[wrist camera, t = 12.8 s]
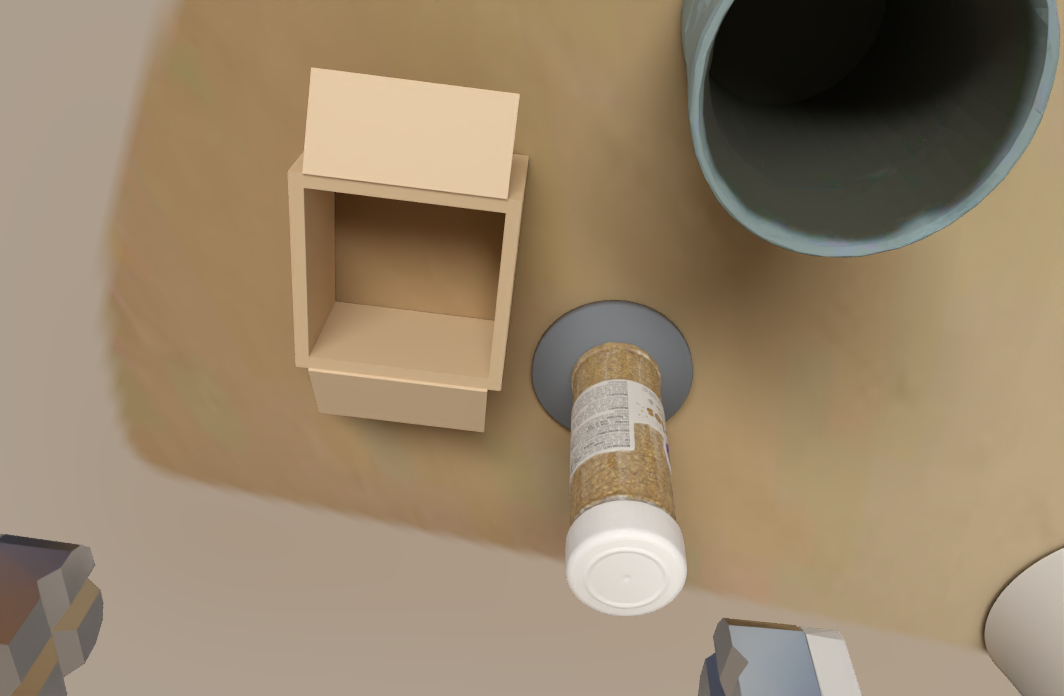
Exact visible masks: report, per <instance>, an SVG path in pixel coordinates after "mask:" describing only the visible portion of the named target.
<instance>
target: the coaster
mask: <svg viewBox="0 0 1064 696" xmlns="http://www.w3.org/2000/svg"><path fill="white" fill-rule="evenodd" d="M608 342H620V343H628V344H632V345H635V346H637V347H639V348H640V349H643V350H645V351H646V352H647V353H648V354H649V355H650V356H651V357H652V358H653V359H654V360H655V361H656V363H657V365H658V367H659V370H660V373H661V390H660V392H661V399H662V406H663V409H664V415H665V422H666V421H667V420H668V419H669V418H671V417H672V416H673V415H674V414H675V413H676V412H677V411H678V409H679V408H680V407H681V405H682V404H683V403H684V401H685V399H686V397H687V395H688V393H689V390H690V387H691V383H692V378H693V366H692V359H691V354H690V350H689V347H688V344H687V342H686V340H685V338H684V336H683V334H682V333H681V332H680V330H679V329H678V328H677V327H676V326H675V324H674V323H673V322H672V321H670V320H669V319H668V318H667V317H666V316H664V315H663V314H661V313H659V312H658V311H656V310H654V309H652V308H650V307H647V306H645V305H641V304H638V303H634V302H629V301H620V300H607V301H598V302H593V303H589V304H585V305H582V306H580V307H577V308H575V309H573V310H571V311H569V312H567V313H566V314H564V315H562V316H561V317H560V318H558V319H557V320H556V321H555V322H554V323H553V324H552V325H551V326H550V327H549V328H548V329H547V330H546V331H545V333H544V334H543V336H542V337H541V339H540V341H539V343H538V345H537V348H536V350H535V354H534V359H533V371H532V377H533V385H534V389H535V392H536V395H537V397H538V399H539V401H540V403H541V404H542V406H543V407H544V409H545V410H546V411H547V412H548V413H549V414H550V415H551V416H552V417H553V418H554V419H555V420H556V421H558V422H559V423H560V424H562V425H563V426H565V427H567V428H569V429H570V430H571V414H572V408H573V391H572V387H571V374H572V371H573V368H574V365H575V364H576V362H577V360H578V358H579V357H581V356H582V355H583V354H584V353H585V352H587V351H588V350H590V349H591V348H593V347H596V346H599V345H602V344H604V343H608Z"/></svg>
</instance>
